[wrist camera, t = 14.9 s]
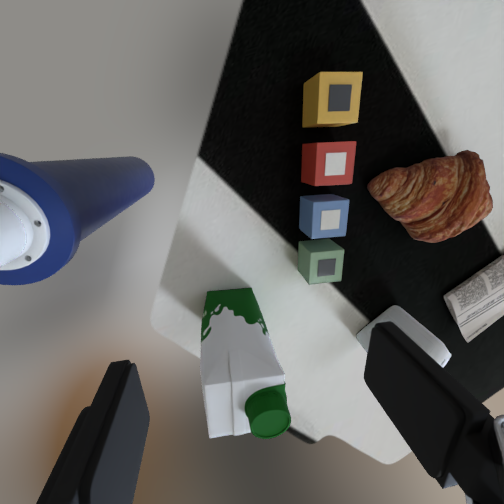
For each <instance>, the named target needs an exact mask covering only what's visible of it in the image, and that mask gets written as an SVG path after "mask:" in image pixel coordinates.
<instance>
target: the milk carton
mask: <svg viewBox="0 0 504 504" xmlns="http://www.w3.org/2000/svg"><path fill="white" fill-rule="evenodd" d="M200 361H201V362H200V371H201V381H202V390H203V398H204V405H205V411H206V418H207V424H208V431H209V437H210V438H215V437H220V436H226V435H232V434H234V436H236V435H242V434H245V433H249V432H252V434H253V435H254V436H256V437H258V438H262V439H269V438H274V437H277V436H279V435H281V434H282V433H284V432H285V431H286V430H287V429H288V428H289V426H290V423H291V417H290V413H289V410H288V407H287V397H286V393H285V381H284V379H285V373H284V371H283V369H282V368H281V366H280V363H279V361H278V359H277V356H276V354H275V351H274V348H273V345H272V342H271V339H270V336H269V333H268V330H267V328H266V325H265V322H264V319H263V316H262V313H261V311H260V308H259V306H258V303H257V301H256V298H255V296H254V293H253V291H252V288H242V289H230V290H219V291H208V292H207V296H206V301H205V307H204V312H203V317H202V327H201V360H200Z"/></svg>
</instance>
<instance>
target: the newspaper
mask: <svg viewBox="0 0 504 504" xmlns="http://www.w3.org/2000/svg"><path fill="white" fill-rule="evenodd" d="M444 300H445V302H446V304H447V306H448V308H449V310H450V312H451V314H452V316H453V318H454V320H455V322H456V323H457V324H458V325H459V328H460V331H461V333H462V335H463V337H464V338H465V340H466V341H467V342H469V341H471V340H472V339H473V338H474V337H476V336H477V335H478V334H480V333H481V332H482V331H484V330H485V329H486V328H487V327H489V326H490V325H491V324H493V323H494V322H495V321H496V320H498V319H499V318H500V317H502V316H503V315H504V254H503V255H502V256H500V257H499V258H497V259H496V260H495V261H493V262H492V263H490V264H489V265H487V266H486V267H484V268H483V269H481V270H480V271H479V272H477V273H476V274H474V275H473V276H471V277H470V278H468V279H467V280H465V281H464V282H463V283H461V284H460V285H458V286H457V287H455V288H454V289H452V290H451V291H450V292H448V293H447V294H445V295H444Z"/></svg>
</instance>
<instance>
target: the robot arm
mask: <svg viewBox="0 0 504 504" xmlns="http://www.w3.org/2000/svg"><path fill="white" fill-rule="evenodd" d="M40 222H41V223H40ZM49 240H50V227H49V224H48V220H47V218H46V216H45V214H44V212H43V210H42V209H41V208H40V206H39V205H38V204H37V202H36V201H34V200H33V199H32V198H31V197H30V196H29V195H28V194H27V193H25V192H24V191H23V190H21V189H20V188H18V187H16V186H14V185H12V184H10V183H8V182H5V181H2V180H0V270H14V269H19V268H22V267H25V266H28V265H30V264H31V263H33V262H35V261H36V260H37V259H39V258H40V257H41V256H42V255H43V253H44V252H45V251H46V249H47V247H48V245H49ZM364 379H365V382H366V384H367V386H368V387H369V389H370V390H371V392H372V393H373V395H374V396H375V398H376V399H377V400H378V402H379V403H380V405H381V406H382V408H383V409H384V411H385V412H386V414H387V415H388V416H389V418H390V419H391V421H392V422H393V424H394V425H395V427H396V428H397V430H398V431H399V432H400V434H401V435H402V437H403V438H404V440H405V441H406V443H407V444H408V445H409V447H410V448H411V450H412V451H413V453H414V454H415V456H416V457H417V459H418V460H419V461H420V463H421V464H422V466H423V467H424V469H425V470H426V471H427V473H428V474H429V475H430V476H431V477H433V478H435V479H436V480H437V481H438V483H439V484H440V486H441V487H442V489H443V488H447V487H451V486H455V485H457V484H458V485H459V486H460V487H461V488H462V490H463V491H464V493H465V496H466V503H467V504H504V415H500V416H497V417H496V418H495V419H494V418H493V417H492V416H491V415H490V414H489V413H490V410H489V409H487V408H486V407H485V406H484V405H483V404H482V403H481V402H480V401H479V400H478V399H477V398H475V397H474V396H473V395H472V394H471V393H470V392H469V391H468V390H467V389H466V388H464V387H463V386H462V385H461V384H460V383H459V382H458V381H457V380H456V379H455V378H454V377H452V376H451V375H450V374H449V373H448V372H447V371H446V370H445V369H444V368H443V367H441V366H440V365H439V364H438V363H437V362H436V361H435V360H434V359H433V358H432V357H431V356H429V355H428V354H427V353H426V352H425V351H424V350H423V349H422V348H421V347H420V346H418V345H417V344H416V343H415V342H414V341H413V340H412V339H411V338H410V337H409V336H408V335H406V334H405V333H404V332H403V331H402V330H401V329H400V328H399V327H398V326H397V325H395V324H394V323H393V322H391V321H387V322H380V323H376V324H375V326H374V327H373V328H372V330H371V336H370V342H369V348H368V354H367V360H366V366H365V372H364ZM149 420H150V416H149V411H148V407H147V404H146V400H145V397H144V393H143V389H142V386H141V382H140V378H139V374H138V371H137V367H136V365H135V363H132V364H131V362H130V361H129V360H123V361H117V362H111V364H110V365H109V367H108V369H107V371H106V373H105V375H104V378H103V380H102V382H101V384H100V386H99V389H98V391H97V393H96V395H95V397H94V399H93V402H92V404H91V406H89V407H85V408H84V409H83V410H82V411H81V413H80V415H79V416H78V418H77V421H76V423H75V425H74V427H73V429H72V431H71V433H70V435H69V437H68V439H67V441H66V443H65V445H64V448H63V449H62V451H61V454H60V456H59V458H58V460H57V462H56V464H55V466H54V468H53V470H52V472H51V474H50V476H49V478H48V480H47V483H46V485H45V487H44V489H43V491H42V493H41V495H40V497H39V499H38V501H37V503H36V504H132V503H133V498H134V493H135V489H136V484H137V479H138V474H139V470H140V465H141V460H142V455H143V451H144V446H145V441H146V437H147V432H148V427H149Z"/></svg>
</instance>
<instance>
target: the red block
mask: <svg viewBox="0 0 504 504" xmlns="http://www.w3.org/2000/svg"><path fill="white" fill-rule="evenodd" d="M355 149H356V141H348V142H323V143H308V144H302V172H301V182H303V183H306V184H310V185H313V186H326V185H341V184H352V178H353V168H354V159H355Z"/></svg>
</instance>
